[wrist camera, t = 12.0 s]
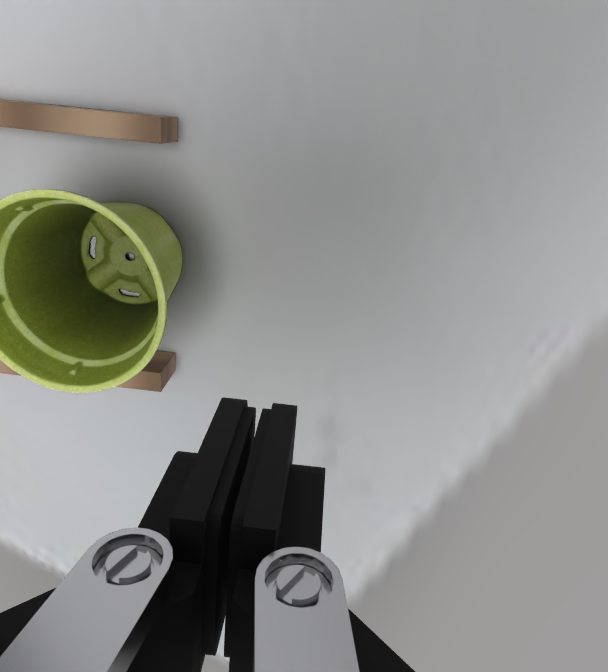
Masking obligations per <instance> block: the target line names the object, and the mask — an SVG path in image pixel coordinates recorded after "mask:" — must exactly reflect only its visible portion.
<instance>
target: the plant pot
mask: <svg viewBox="0 0 608 672" xmlns="http://www.w3.org/2000/svg"><path fill="white" fill-rule="evenodd" d="M93 236H95V237H96V245H95V255H96V256H95V259H92V258H91V257H90V254H89V242H90V240H91V237H93ZM127 253H132V254H133V255H134V260H132V261H129V260H127V259H126V256H125V255H126V254H127ZM181 270H182V251H181V247H180V243H179V241H178V239H177V237H176V235H175V234H174V232H173V231H172V229H171V228H170V227H169V226H168V224H167V223H166V222H165V220H164V219H163V218H162V217H161V216H160V215H159V214H157V213H156V212H154V211H153V210H151V209H149V208H147V207H145V206H142V205H139V204H135V203H127V202H111V203H99V202H97V201H95V200H93V199H90V198H88V197H85V196H82V195H79V194H76V193H72V192H68V191H62V190H54V189H36V190H28V191H22V192H18V193H15V194H11V195H9V196H7V197H5V198H3V199H1V200H0V360H1V361H2V362H3V363H5V364H6V365H7V366H8V367H10V368H11V369H12V370H14V371H15V372H17V373H18V374H20V375H22V376H23V377H25V378H27V379H29V380H31V381H33V382H35V383H37V384H39V385H42V386H44V387H47V388H50V389H54V390H59V391H64V392H70V393H90V392H98V391H103V390H107V389H110V388H113V387H115V386H118V385H120V384H122V383H124V382H126V381H128V380H129V379H131V378H132V377H133V376H135V375H136V374H138V373H139V372H140V371H141V370H142V369H143V368H144V367H145V366H146V365H147V364H148V363H149V361H150V360H151V359H152V357H153V355H154V354H155V352H156V350H157V349H158V347H159V345H160V342H161V340H162V337H163V334H164V330H165V326H166V320H167V301H168V299H169V297H170V295H171V293H172V291H173V289H174V288H175V286H176V284H177V282H178V280H179V277H180V274H181ZM119 289H124V290H127V291H129V292H137V293H140V294H141V295H139V297H130V296H125V295H122V294H121V293H120V292H119Z"/></svg>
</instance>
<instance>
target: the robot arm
mask: <svg viewBox="0 0 608 672" xmlns="http://www.w3.org/2000/svg"><path fill="white" fill-rule="evenodd" d="M296 417H297V406H295V405H286V404H277V403H273V405H272V409H263V410H262V413H261V416H260V420H259V423H258V427H257V431H256V434H255V418H256V408H254V407H248V404H247V400H241V399H232V398H222V399H221V401H220V403H219V406H218V408H217V410H216V413H215V415H214V417H213V419H212V422H211V424H210V426H209V429H208V431H207V433H206V435H205V438H204V440H203V442H202V445H201V447H200V449H199V452H198V453H190V452H181V451H178V452H176V454H175V455H174V457H173V459H172V461H171V463H170V465H169V467H168V469H167V471H166V473H165V475H164V477H163V479H162V480H161V482H160V484H159V486H158V488H157V490H156V492H155V494H154V496H153V498H152V500H151V502H150V504H149V506H148V508H147V510H146V512H145V514H144V516H143V518H142V520H141V522H140V524H139V526H138V528H128V529H121V530H118V531H115V532H112V533H109V534H107V535H105V536H104V537H102V538H100V539H98V540H97V541H96V542H95V543H94V544H93V545H92V546H91V547H90V548H89V549H88V550H87V551H86V552H85V554H84V555H83V556H82V557H81V558H80V560H79V561H78V562H77V563H76V565H75V566H74V567H73V568H72V569H71V571H70V572H69V573H68V574H67V576H66V577H65V578H64V579H63V580H62V582H61V583H60V584H59V585H58V587H57V588H54V589H52V590H50V591H48V592H46V593H43V594H41V595H39V596H37V597H35V598H32V599H30V600H28V601H26V602H24V603H22V604H19V605H17V606H15V607H13V608H11V609H8V610H6V611H4V612H2V613H0V672H201V668H202V665H203V661H204V657H205V654H206V655H214V656H215V655H216V652H217V648H218V644H219V640H220V636H221V631H222V627H223V623H224V619H225V615H226V619H225V641H224V657H230V662H229V672H415V671H414V670H413V669H412V668H410V666H408V665H407V664H406V663H405V662H404V661H403V660H402V659H401V658H400V657H399V656H398V655H397V654H396V653H395V652H394V651H393V650H391V648H389V647H388V646H387V645H386V644H385V643H384V642H383V641H382V640H381V639H380V638H379V637H378V636H377V635H376V634H375V633H374V632H373V631H372V630H370V629H369V628H368V627H367V626H366V625H365V624H364V623H363V622H362V621H361V620H360V619H359V618H358V617H357V616H356V615H355V614H353V613H352V612H351V611H350V610H349V609H348V606H347V601H346V595H345V590H344V584H343V579H342V576H341V574H340V571H339V569H338V567H337V566H336V565H335V564H334V562H333V561H332V560H331V559H329V558H328V557H327V556H325V555H324V554H322V553H321V536H322V518H323V501H324V484H325V468H321V467H312V466H304V465H295V464H292V460H293V449H294V438H295V428H296ZM254 434H255V438H254Z"/></svg>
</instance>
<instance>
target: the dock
mask: <svg viewBox="0 0 608 672" xmlns="http://www.w3.org/2000/svg"><path fill="white" fill-rule="evenodd" d="M0 127H9V128H18V129H28V130H37V131H47V132H56V133H66V134H75V135H85V136H94V137H104V138H113V139H123V140H132V141H142V142H151V143H168V142H175V141H178V118H177V117H168V116H158V115H148V114H139V113H129V112H119V111H110V110H100V109H91V108H81V107H71V106H62V105H52V104H42V103H33V102H23V101H13V100H4V99H0ZM174 371H175V353H171V352H162V351H156V352H155V354H154V355H153V357H152V359H151V360H150V361H149V363H148V364H147V365H146V366H145V367H144V368H143V369H142V370H141V371H140V372H139V373H138V374H136V375H135V376H133V377H132V378H131V379H129V380H128V381H126V382H124V383H122V384H120V385H118V386H115V387H124V388H132V389H141V390H149V391H158V392H161V391H162V389H163V388H164V386H165V385H166V383H167V382H168V380H169V379H170V377H171V376H172V374H173V373H174ZM0 373H4V374H12V375H20V374H18V373H17V372H15V371H14V370H12V369H11V368H10V367H8V366H7V365H6V364H5V363H3V362H2V361H1V360H0ZM21 376H22V375H21Z"/></svg>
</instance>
